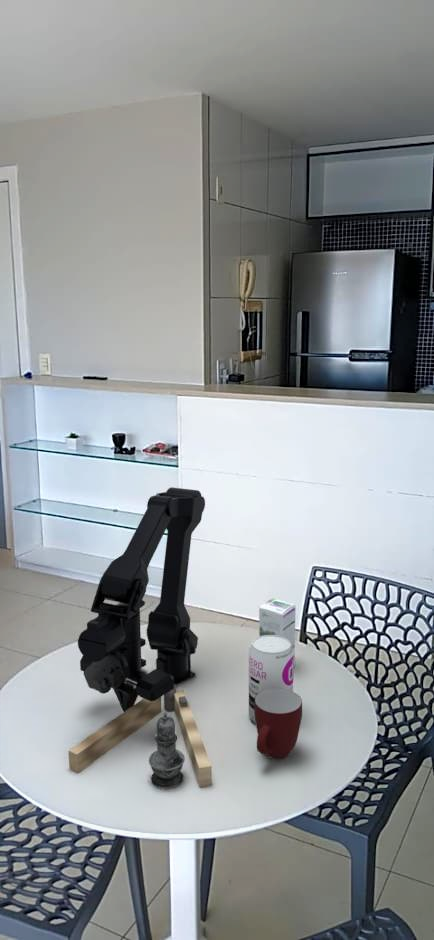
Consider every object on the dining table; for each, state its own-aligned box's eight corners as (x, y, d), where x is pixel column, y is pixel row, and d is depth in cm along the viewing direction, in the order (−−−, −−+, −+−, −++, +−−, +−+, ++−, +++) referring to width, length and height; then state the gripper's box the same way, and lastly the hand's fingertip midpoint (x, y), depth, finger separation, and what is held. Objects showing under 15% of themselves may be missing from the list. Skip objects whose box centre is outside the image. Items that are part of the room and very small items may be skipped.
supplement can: (298, 711, 139) (299, 638, 135) (283, 734, 132) (284, 657, 128) (258, 701, 142) (258, 630, 139) (241, 723, 135) (241, 649, 131)
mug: (287, 781, 119) (288, 726, 116) (241, 768, 122) (241, 715, 120) (307, 745, 128) (308, 694, 126) (264, 734, 131) (264, 684, 129)
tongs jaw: (153, 708, 140) (152, 692, 139) (161, 711, 139) (160, 695, 138) (69, 768, 122) (68, 750, 122) (78, 773, 121) (76, 754, 120)
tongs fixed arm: (163, 705, 141) (162, 684, 140) (182, 702, 142) (182, 681, 141) (188, 789, 117) (187, 764, 116) (211, 785, 118) (211, 760, 117)
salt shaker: (149, 768, 122) (147, 703, 120) (184, 765, 123) (183, 701, 120) (149, 791, 117) (146, 724, 114) (186, 788, 117) (184, 722, 114)
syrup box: (295, 666, 155) (296, 603, 152) (281, 678, 151) (282, 612, 147) (272, 659, 159) (273, 596, 155) (257, 670, 154) (258, 606, 150)
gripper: (55, 638, 131) (59, 716, 135) (130, 670, 120) (133, 754, 124) (100, 617, 140) (103, 690, 143) (175, 644, 129) (176, 724, 132)
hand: (127, 713), depth 135 cm, fingers closed
